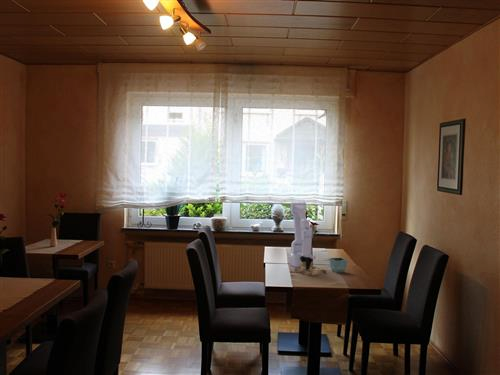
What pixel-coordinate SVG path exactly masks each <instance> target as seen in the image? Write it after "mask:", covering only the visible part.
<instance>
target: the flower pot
mask: <svg viewBox="0 0 500 375" xmlns="http://www.w3.org/2000/svg"><path fill="white" fill-rule="evenodd" d="M347 265H348V259H345V258H343V257H329V266H330V269H331V271H332V272H334V273H344V272H345V271H346V269H347Z"/></svg>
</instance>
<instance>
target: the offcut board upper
mask: <svg viewBox="0 0 500 375" xmlns="http://www.w3.org/2000/svg"><path fill="white" fill-rule="evenodd" d="M317 268H318V267H316V269H312V270H309V272H311V273H317V272H321V271H322V269H323V268H320V269H317Z"/></svg>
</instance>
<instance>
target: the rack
mask: <svg viewBox="0 0 500 375" xmlns="http://www.w3.org/2000/svg"><path fill="white" fill-rule="evenodd" d="M316 268H317V269H322V271H323V274H322V275H325V274H327V270H326V269H323V268H318V267H315V266H312V269H316ZM308 271H309V270H308ZM308 271H304V270H300V268H294V272H295V273H298V274H302V275H305V276H309V277H313V276H319V275H321V274H317V275H312V273H311V272H308Z"/></svg>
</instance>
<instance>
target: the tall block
mask: <svg viewBox="0 0 500 375" xmlns="http://www.w3.org/2000/svg"><path fill="white" fill-rule="evenodd" d="M313 261H314V260H313ZM313 261H312V262H311V265H310V268H309V269H306V261H305V262H300V267H299V269H300V270H304V271H308V270H312V267H313V264H314V263H313Z"/></svg>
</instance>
